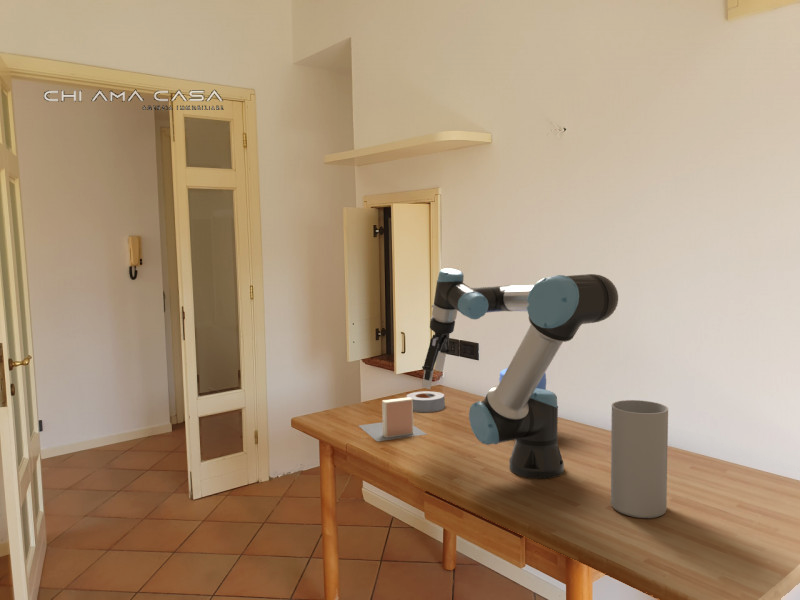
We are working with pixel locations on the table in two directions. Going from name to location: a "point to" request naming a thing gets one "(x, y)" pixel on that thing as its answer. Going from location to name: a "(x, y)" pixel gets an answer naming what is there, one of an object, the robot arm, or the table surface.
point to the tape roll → (427, 401)
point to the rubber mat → (377, 432)
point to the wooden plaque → (397, 417)
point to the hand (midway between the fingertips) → (432, 378)
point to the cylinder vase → (639, 458)
